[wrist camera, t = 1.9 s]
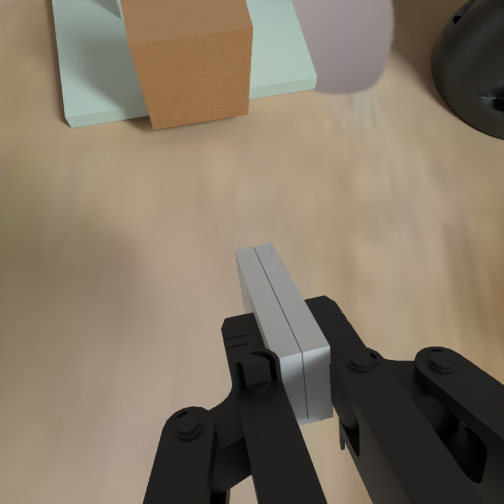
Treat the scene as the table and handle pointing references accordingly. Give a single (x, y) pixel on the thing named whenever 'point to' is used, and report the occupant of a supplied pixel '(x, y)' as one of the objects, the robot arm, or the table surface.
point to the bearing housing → (124, 73)
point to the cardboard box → (190, 58)
